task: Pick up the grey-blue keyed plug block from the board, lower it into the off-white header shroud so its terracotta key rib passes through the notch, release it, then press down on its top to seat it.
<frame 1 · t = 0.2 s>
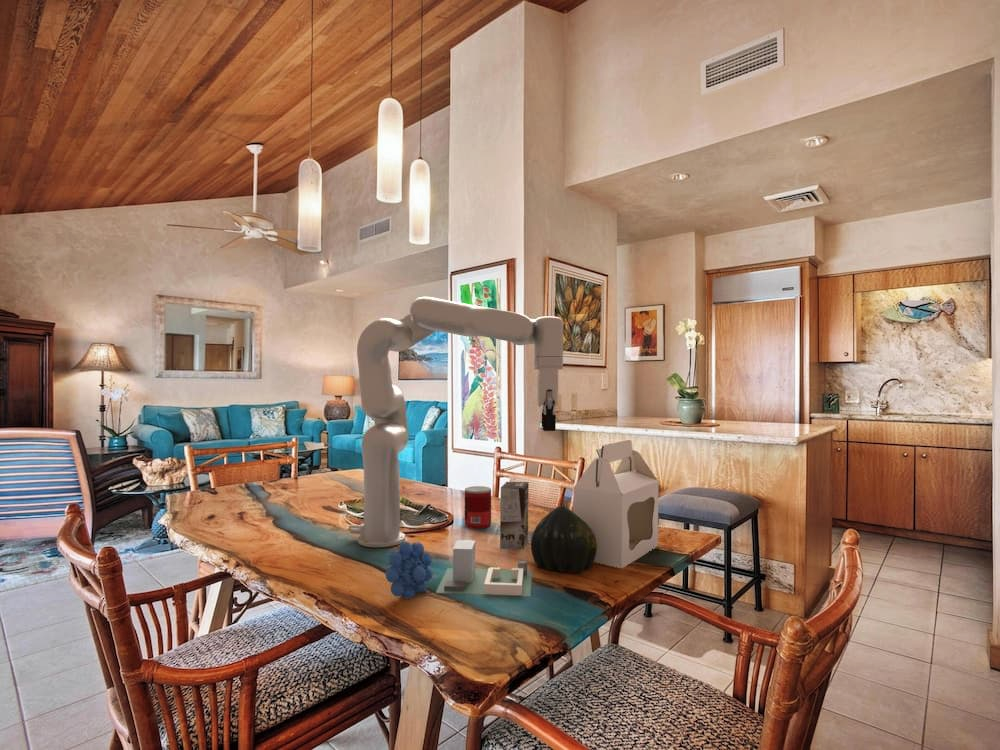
hand: (548, 428, 142), 31 cm above the table, tool pointing down, fingers open, 9 cm apart
plug: (464, 576, 116), point 1 cm above the table, touching board
board: (486, 586, 114), on the table
grapes: (412, 602, 106), on the table
header: (504, 585, 112), resting on board
squash: (562, 570, 125), on the table
gable box: (616, 552, 138), on the table
canned food: (477, 526, 161), on the table
coffee box: (514, 545, 143), on the table
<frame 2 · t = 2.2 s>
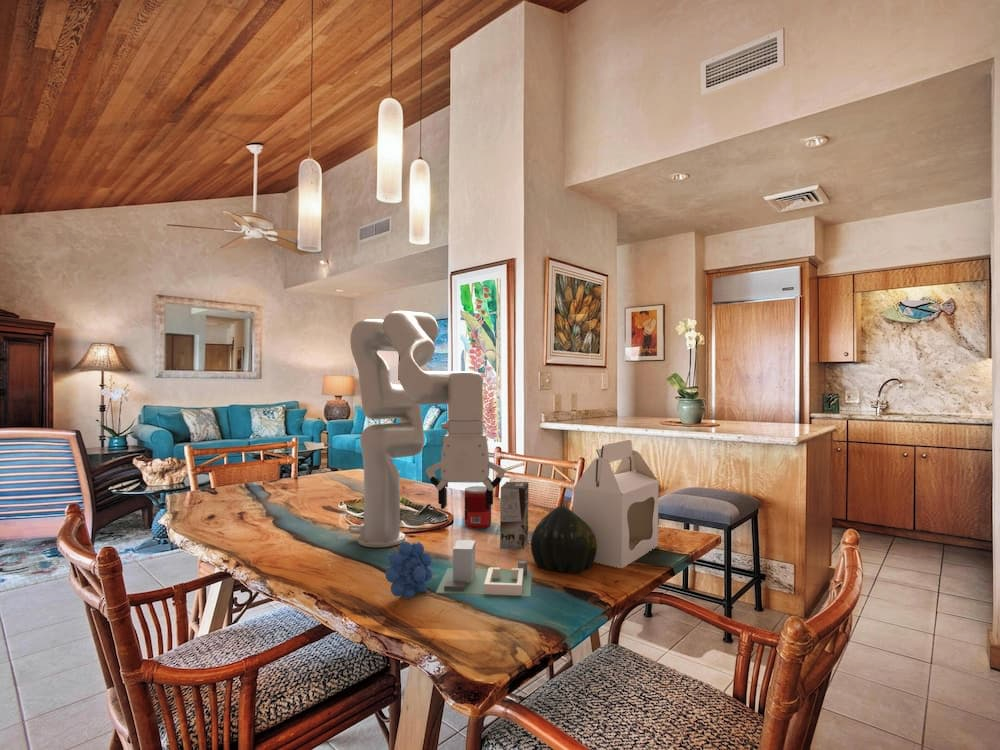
hand: (465, 507, 116), 16 cm above the table, tool pointing down, fingers open, 9 cm apart
nothing on the table moved.
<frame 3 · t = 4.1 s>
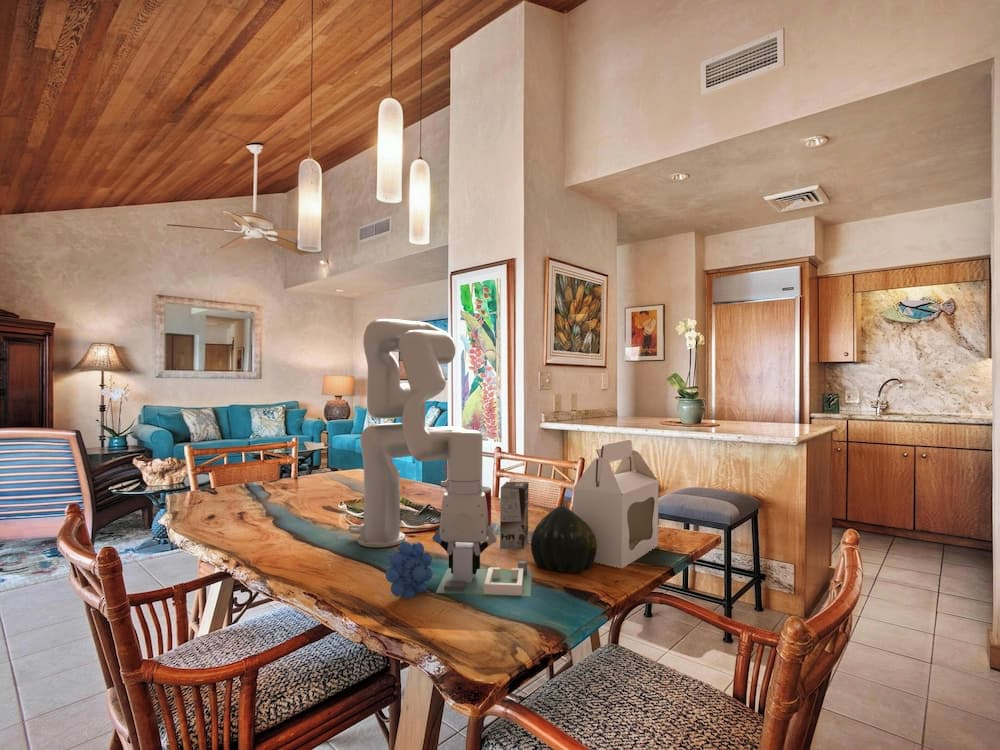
hand: (464, 570, 116), 3 cm above the table, tool pointing down, fingers closed on plug, 4 cm apart
plug: (464, 576, 116), point 1 cm above the table, touching board, gripper
everything else where it was.
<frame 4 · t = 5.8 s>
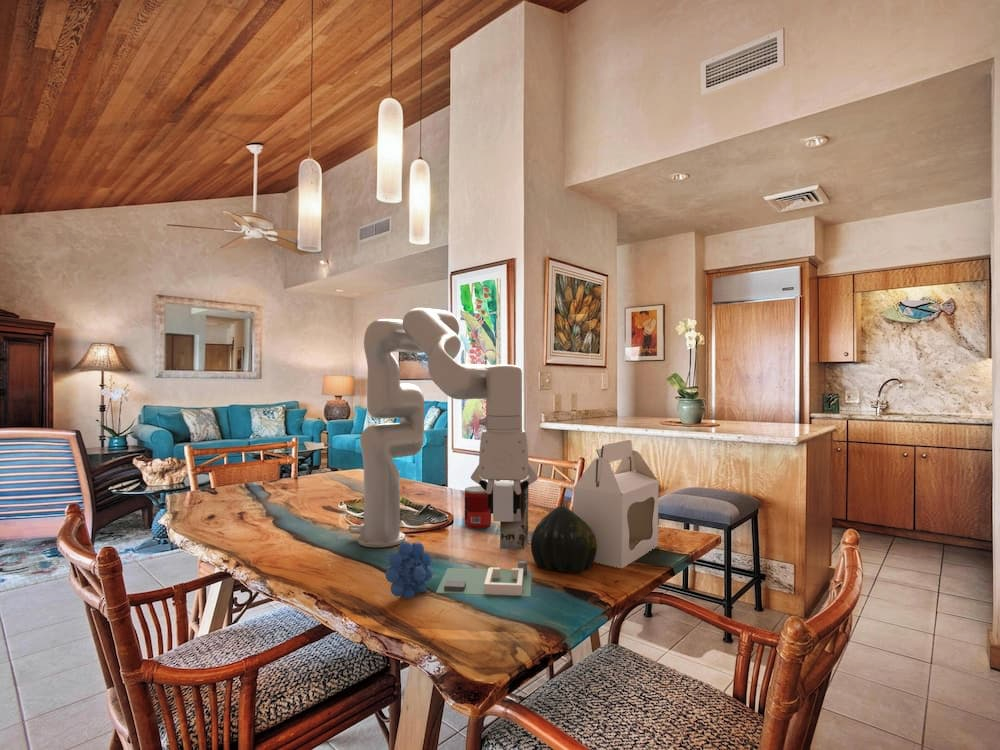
hand: (504, 511, 112), 17 cm above the table, tool pointing down, fingers closed on plug, 4 cm apart
plug: (504, 517, 112), point 15 cm above the table, touching gripper
everything else where it was.
when the fingers open (4 cm above the table, at t = 7.7 s): plug drops 1 cm, resting on board.
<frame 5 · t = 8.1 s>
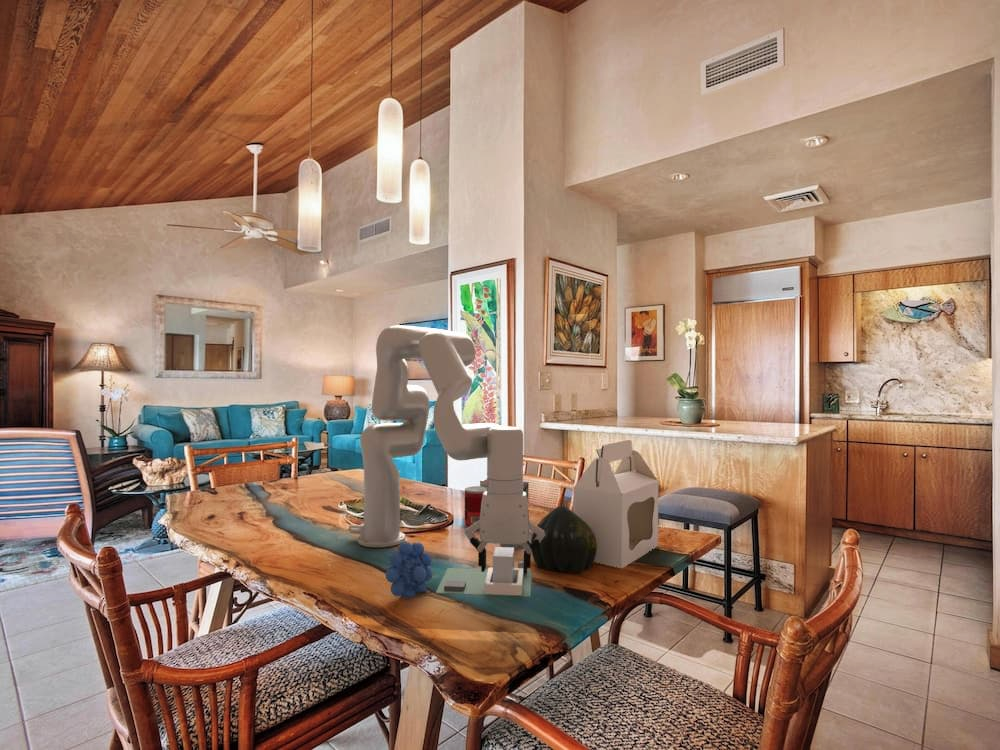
hand: (504, 570, 112), 4 cm above the table, tool pointing down, fingers open, 8 cm apart
plug: (503, 585, 112), point 1 cm above the table, touching board
everything else where it was.
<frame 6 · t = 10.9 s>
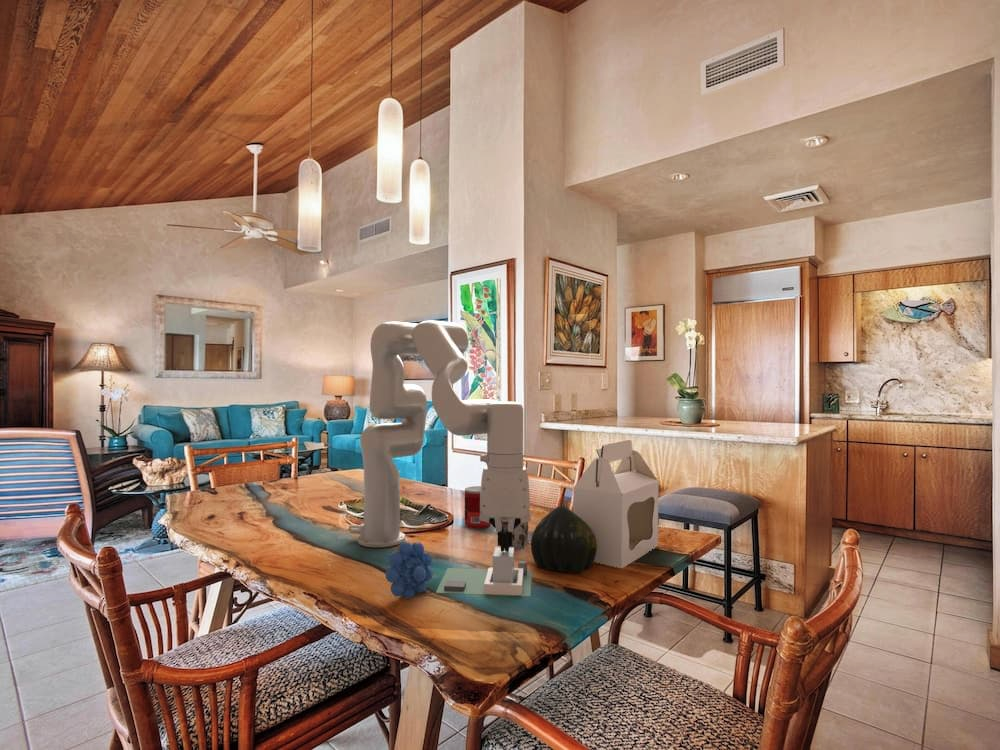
hand: (505, 549, 112), 9 cm above the table, tool pointing down, fingers closed
nothing on the table moved.
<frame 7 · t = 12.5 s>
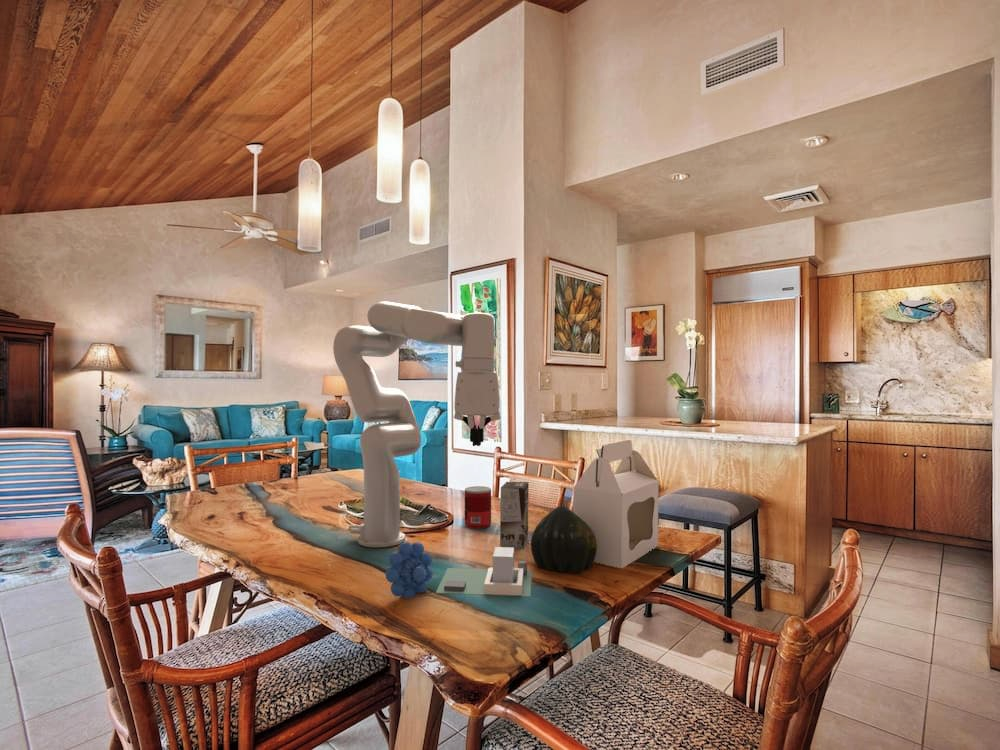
hand: (476, 445, 125), 29 cm above the table, tool pointing down, fingers closed
nothing on the table moved.
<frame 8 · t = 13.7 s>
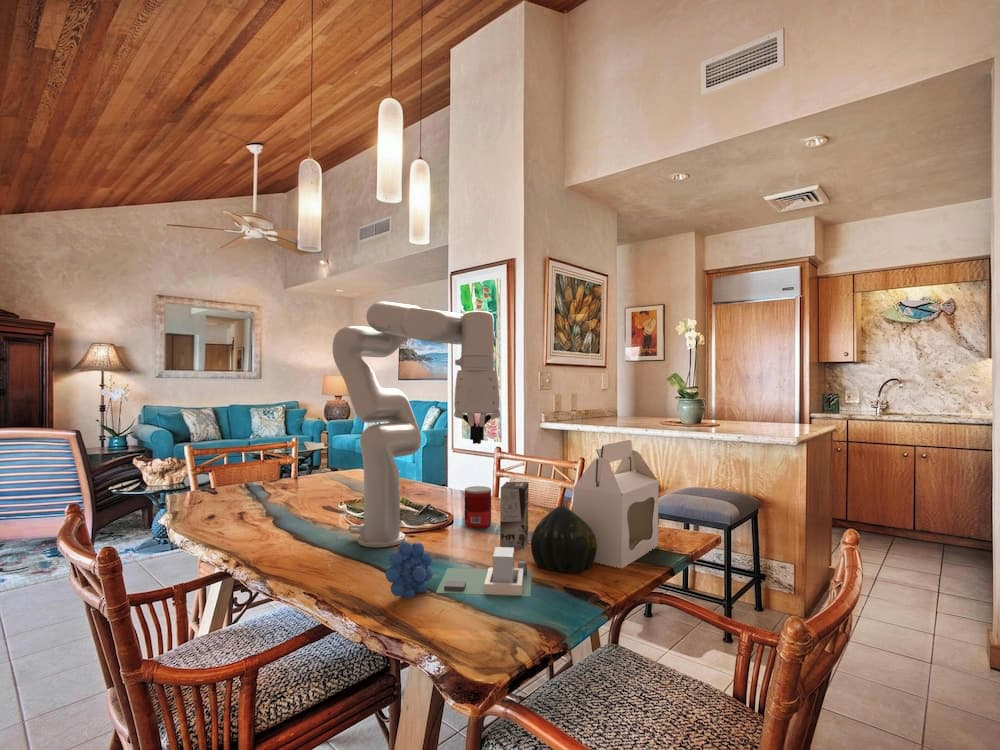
hand: (477, 443, 125), 29 cm above the table, tool pointing down, fingers closed
nothing on the table moved.
at the end: plug 0.2 cm off-centre on the header, point 0.0 cm above the header's base; plug tilted 0°; the gripper is holding nothing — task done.
